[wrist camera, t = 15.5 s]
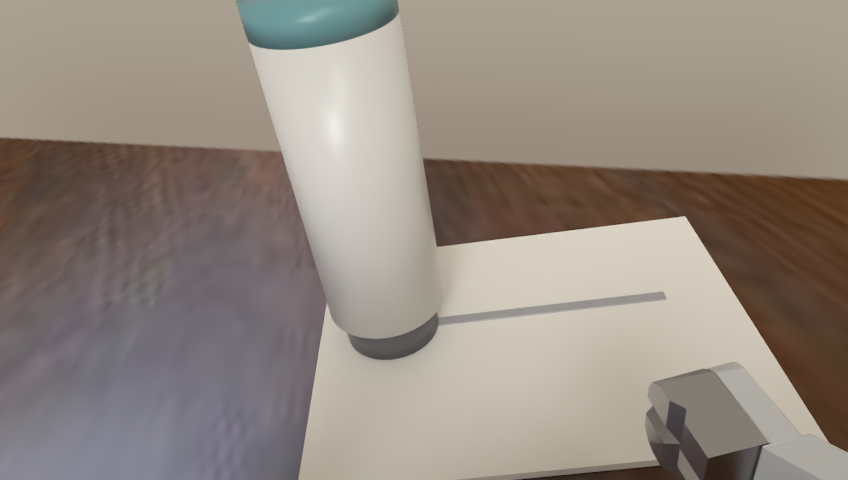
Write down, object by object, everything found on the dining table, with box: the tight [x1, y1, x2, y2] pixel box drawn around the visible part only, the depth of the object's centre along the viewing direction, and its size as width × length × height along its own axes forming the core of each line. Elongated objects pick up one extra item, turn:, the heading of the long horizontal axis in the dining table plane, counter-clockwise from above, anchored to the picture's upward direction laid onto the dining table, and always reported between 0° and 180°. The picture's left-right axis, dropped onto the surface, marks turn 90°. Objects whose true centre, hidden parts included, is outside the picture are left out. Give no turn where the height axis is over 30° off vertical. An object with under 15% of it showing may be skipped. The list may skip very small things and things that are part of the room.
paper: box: [298, 217, 829, 480], centre depth 24 cm, size 16×12×1 cm
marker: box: [236, 0, 444, 360], centre depth 21 cm, size 4×4×13 cm
